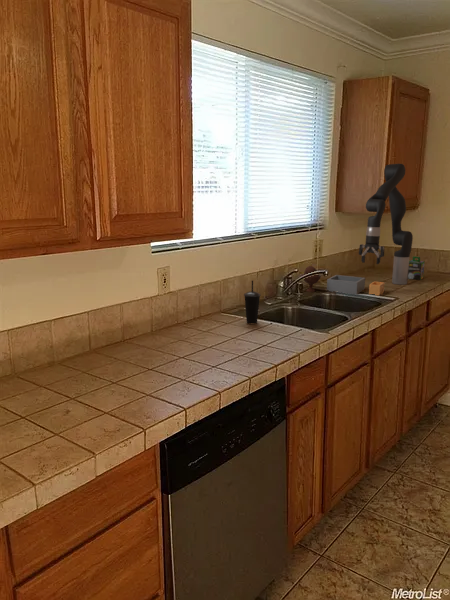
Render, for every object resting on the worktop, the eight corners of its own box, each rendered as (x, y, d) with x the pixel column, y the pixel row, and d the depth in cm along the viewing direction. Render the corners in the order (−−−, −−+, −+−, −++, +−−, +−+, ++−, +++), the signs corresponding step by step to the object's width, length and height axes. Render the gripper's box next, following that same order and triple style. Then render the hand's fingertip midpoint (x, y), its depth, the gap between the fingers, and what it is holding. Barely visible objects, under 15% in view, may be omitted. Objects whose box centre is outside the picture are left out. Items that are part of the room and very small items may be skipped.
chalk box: (423, 278, 343) (425, 256, 340) (420, 280, 336) (422, 257, 332) (409, 276, 348) (411, 254, 345) (406, 278, 341) (407, 256, 337)
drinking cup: (248, 325, 234) (249, 282, 229) (240, 321, 240) (241, 279, 236) (263, 323, 237) (264, 281, 232) (254, 319, 244) (255, 278, 239)
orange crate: (373, 291, 305) (374, 281, 303) (383, 292, 302) (384, 282, 300) (368, 294, 296) (369, 284, 295) (379, 295, 293) (379, 285, 292)
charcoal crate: (335, 285, 318) (336, 274, 317) (364, 289, 309) (365, 277, 308) (326, 290, 305) (327, 279, 303) (356, 294, 296) (357, 282, 294)
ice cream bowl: (321, 292, 299) (322, 267, 296) (302, 292, 300) (303, 267, 296) (318, 288, 310) (319, 264, 306) (300, 288, 310) (301, 264, 306)
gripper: (387, 235, 290) (384, 264, 293) (363, 233, 298) (361, 261, 302) (382, 236, 284) (380, 265, 287) (358, 234, 293) (356, 262, 296)
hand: (370, 263), depth 295 cm, fingers open, 8 cm apart
